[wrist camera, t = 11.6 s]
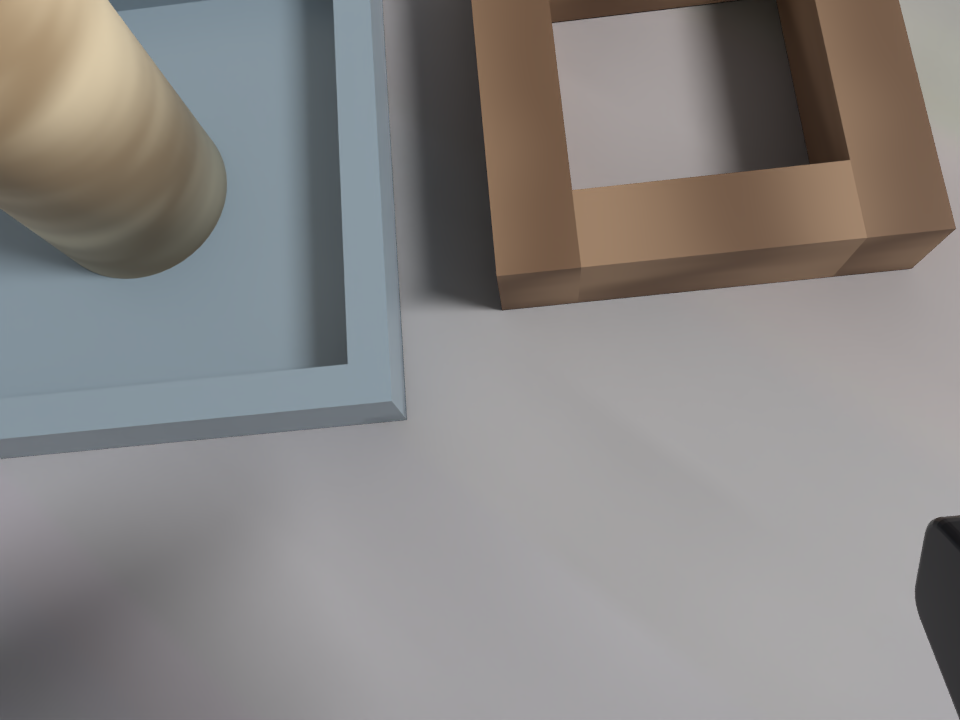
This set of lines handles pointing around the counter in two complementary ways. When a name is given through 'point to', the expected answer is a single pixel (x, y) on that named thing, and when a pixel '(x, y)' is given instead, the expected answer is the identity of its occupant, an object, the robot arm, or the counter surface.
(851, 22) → the socket block
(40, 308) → the tray
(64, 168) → the dowel
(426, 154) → the counter surface
